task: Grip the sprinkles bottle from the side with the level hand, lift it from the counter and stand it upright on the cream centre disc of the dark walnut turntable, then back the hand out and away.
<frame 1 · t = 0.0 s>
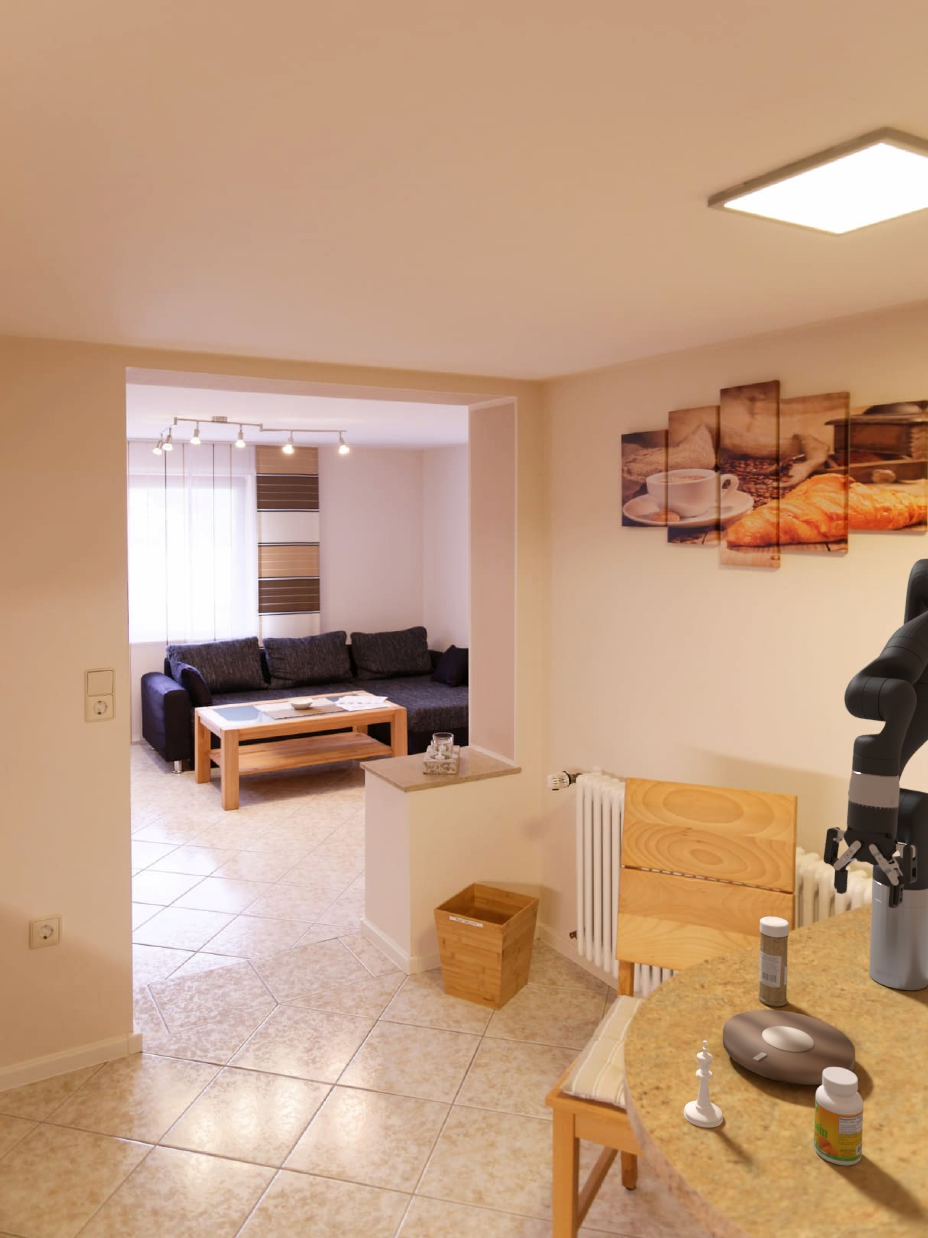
hand: (866, 900, 151), 17 cm above the table, tool pointing down, fingers open, 8 cm apart
chess piece: (703, 1118, 120), on the table
turntable platter: (787, 1044, 134), point 2 cm above the table, hinge at 0.0°
sprinkles bottle: (772, 1002, 152), on the table
turntable base: (787, 1060, 134), on the table
supplement bottle: (837, 1154, 113), on the table
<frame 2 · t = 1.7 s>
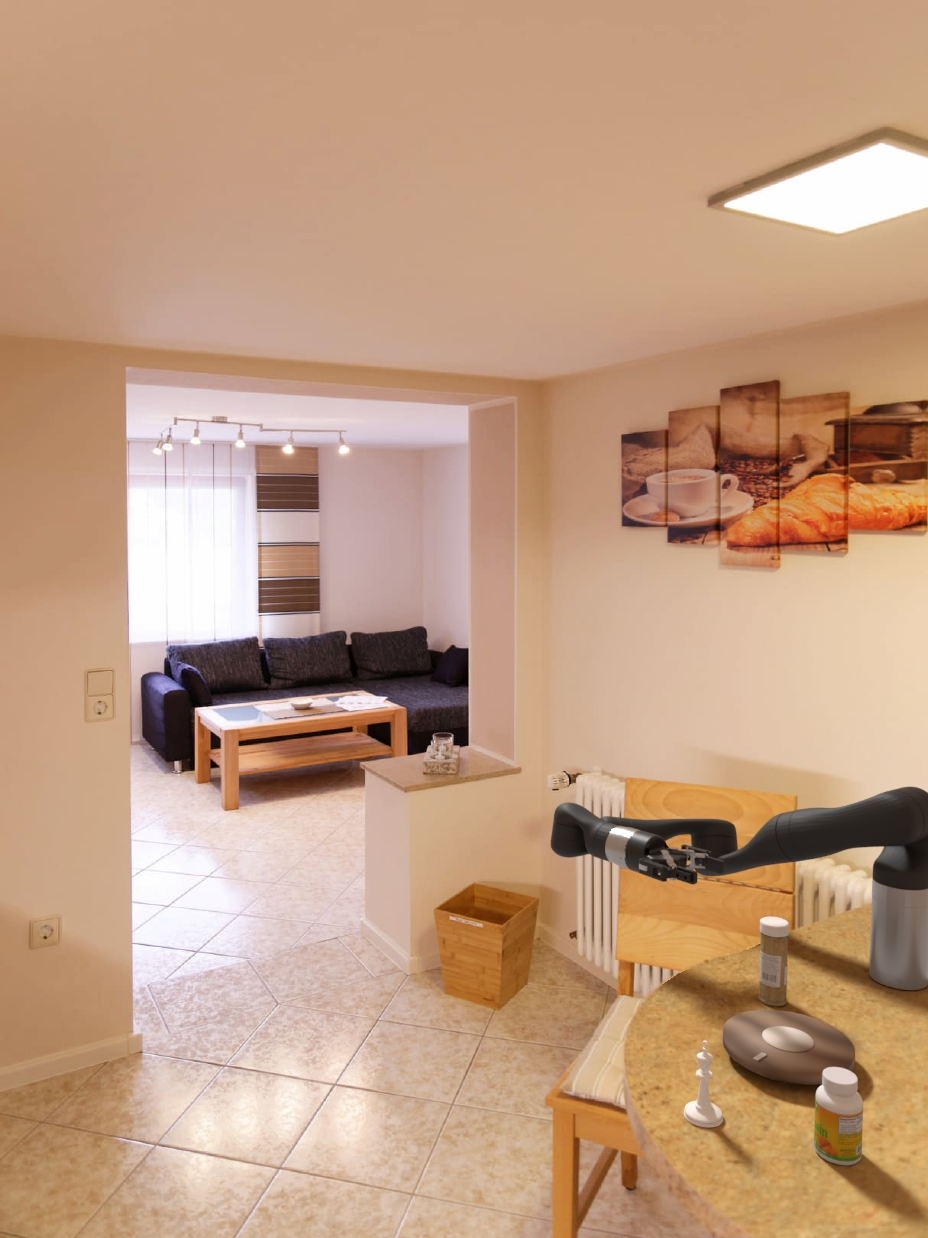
hand: (710, 873, 160), 18 cm above the table, tool horizontal, fingers open, 8 cm apart
nothing on the table moved.
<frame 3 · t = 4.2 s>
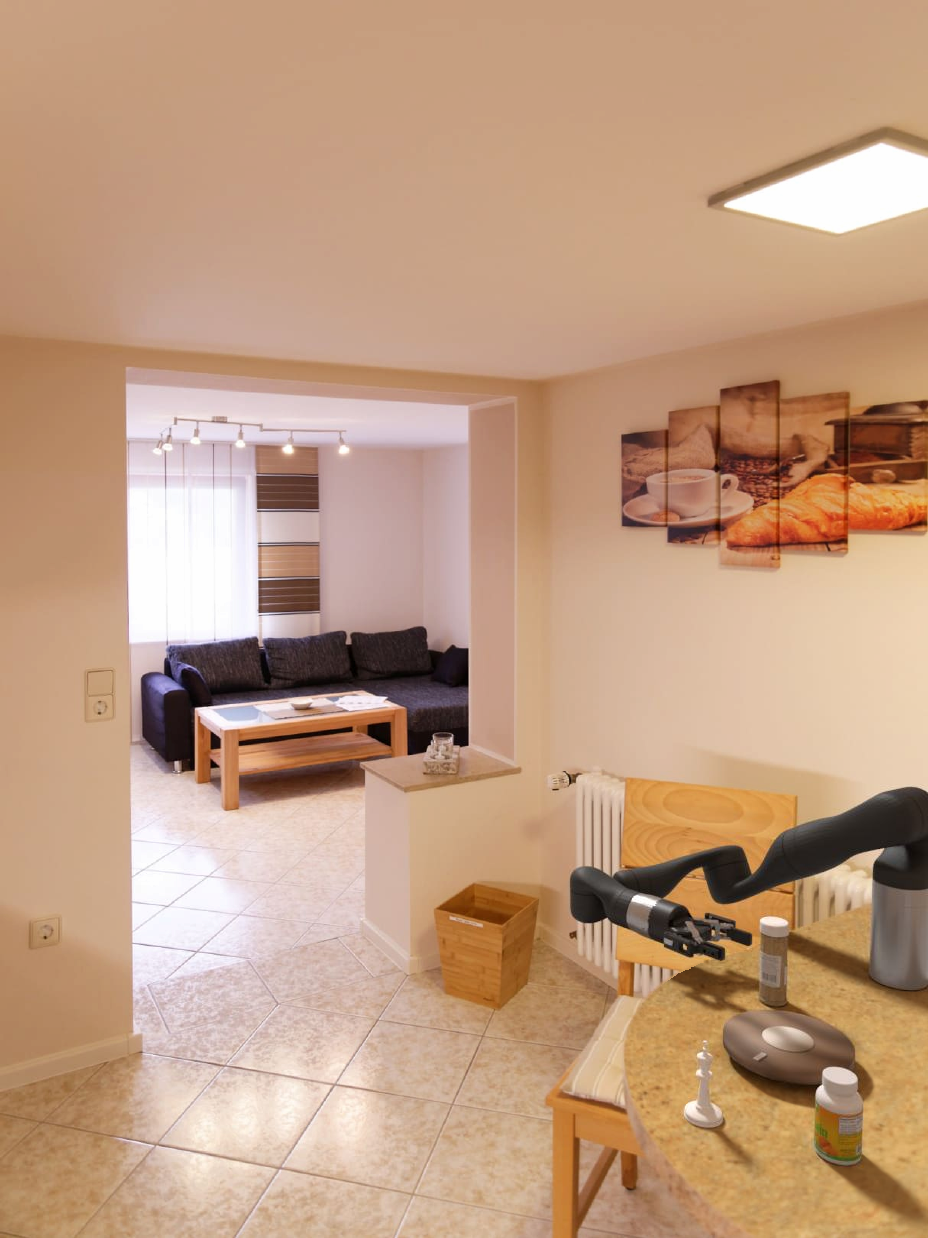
hand: (737, 947, 157), 7 cm above the table, tool horizontal, fingers open, 8 cm apart
nothing on the table moved.
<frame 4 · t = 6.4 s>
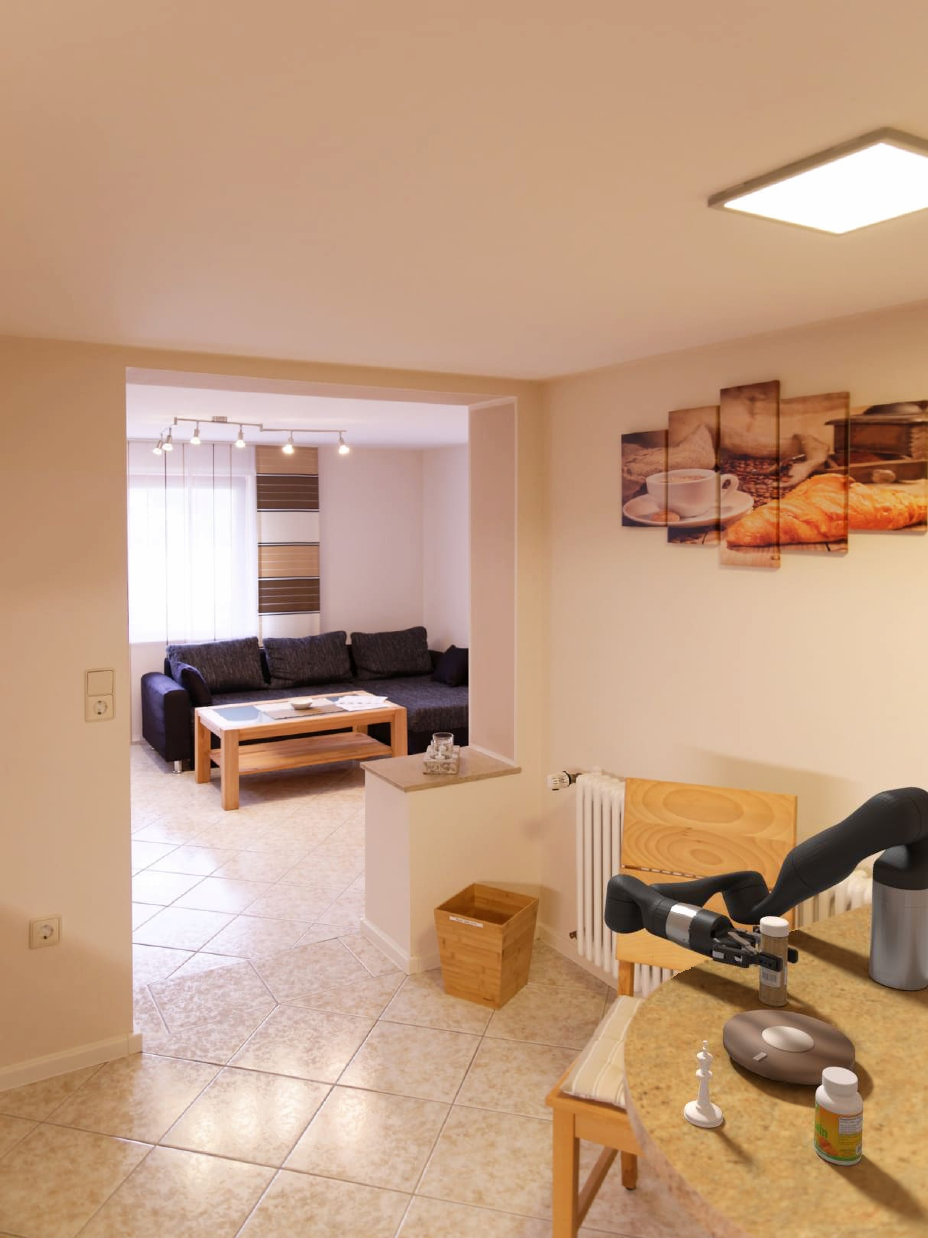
hand: (788, 961, 150), 8 cm above the table, tool horizontal, fingers closed on sprinkles bottle, 4 cm apart
sprinkles bottle: (772, 1002, 152), on the table, touching gripper
everything else where it was.
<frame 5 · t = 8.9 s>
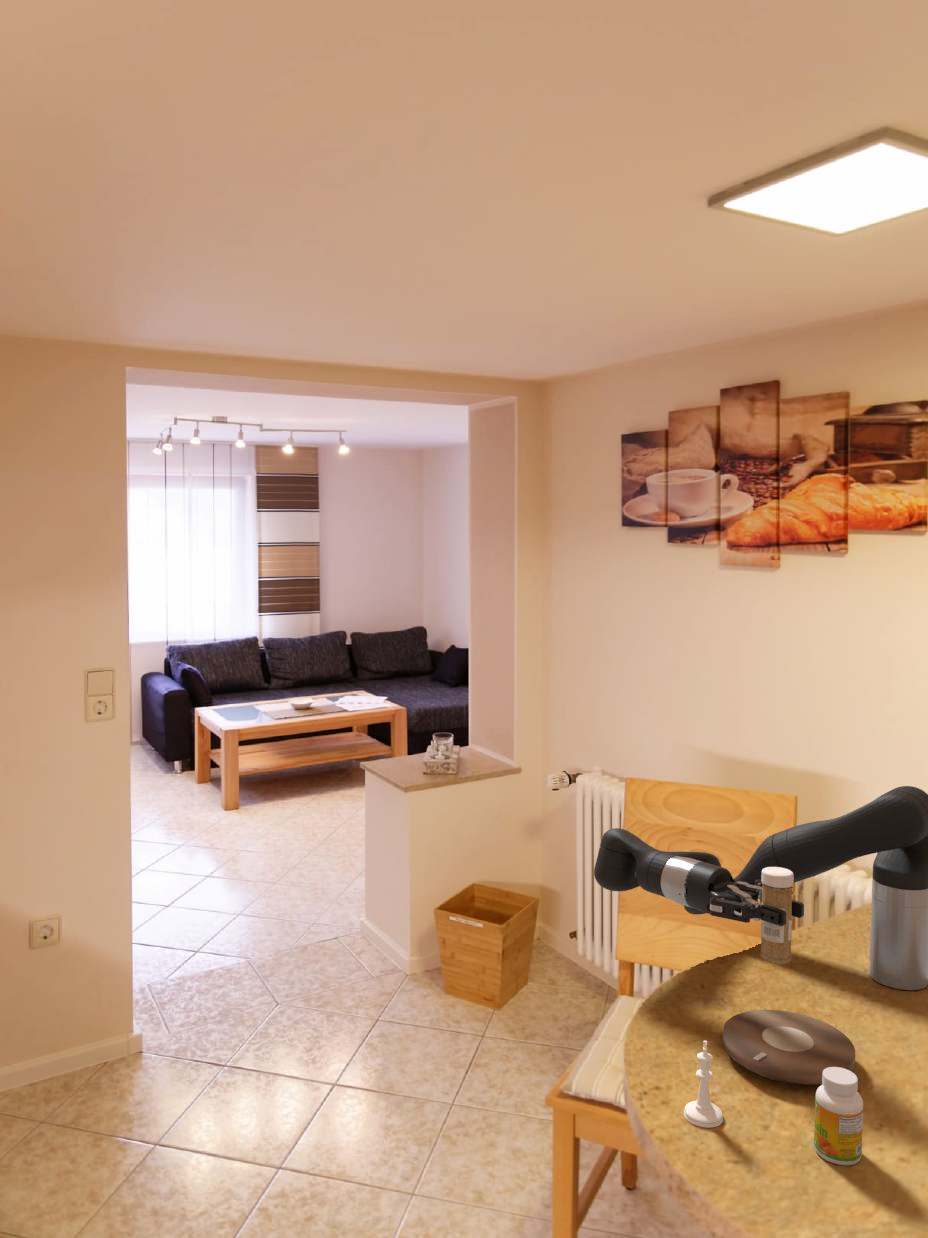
hand: (793, 915, 137), 20 cm above the table, tool horizontal, fingers closed on sprinkles bottle, 4 cm apart
sprinkles bottle: (775, 960, 139), point 12 cm above the table, touching gripper
everything else where it was.
when the fingers open (12 cm above the table, at t = 11.6 s): sprinkles bottle stays where it is, resting on turntable platter.
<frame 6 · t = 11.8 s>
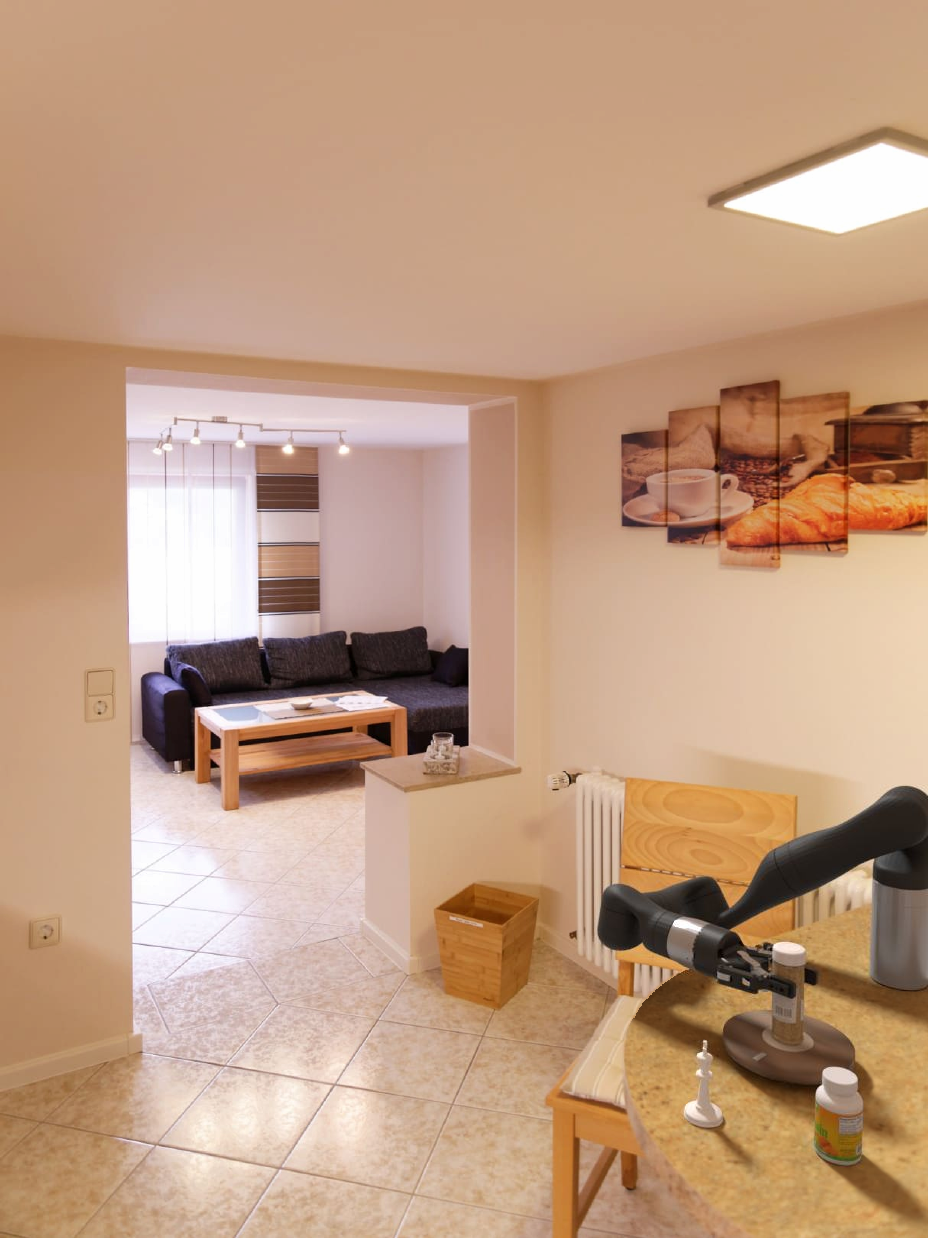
hand: (805, 985, 131), 12 cm above the table, tool horizontal, fingers open, 5 cm apart
turntable platter: (787, 1044, 134), point 2 cm above the table, hinge at 0.0°, touching sprinkles bottle
sprinkles bottle: (786, 1039, 134), point 3 cm above the table, touching turntable platter
everything else where it was.
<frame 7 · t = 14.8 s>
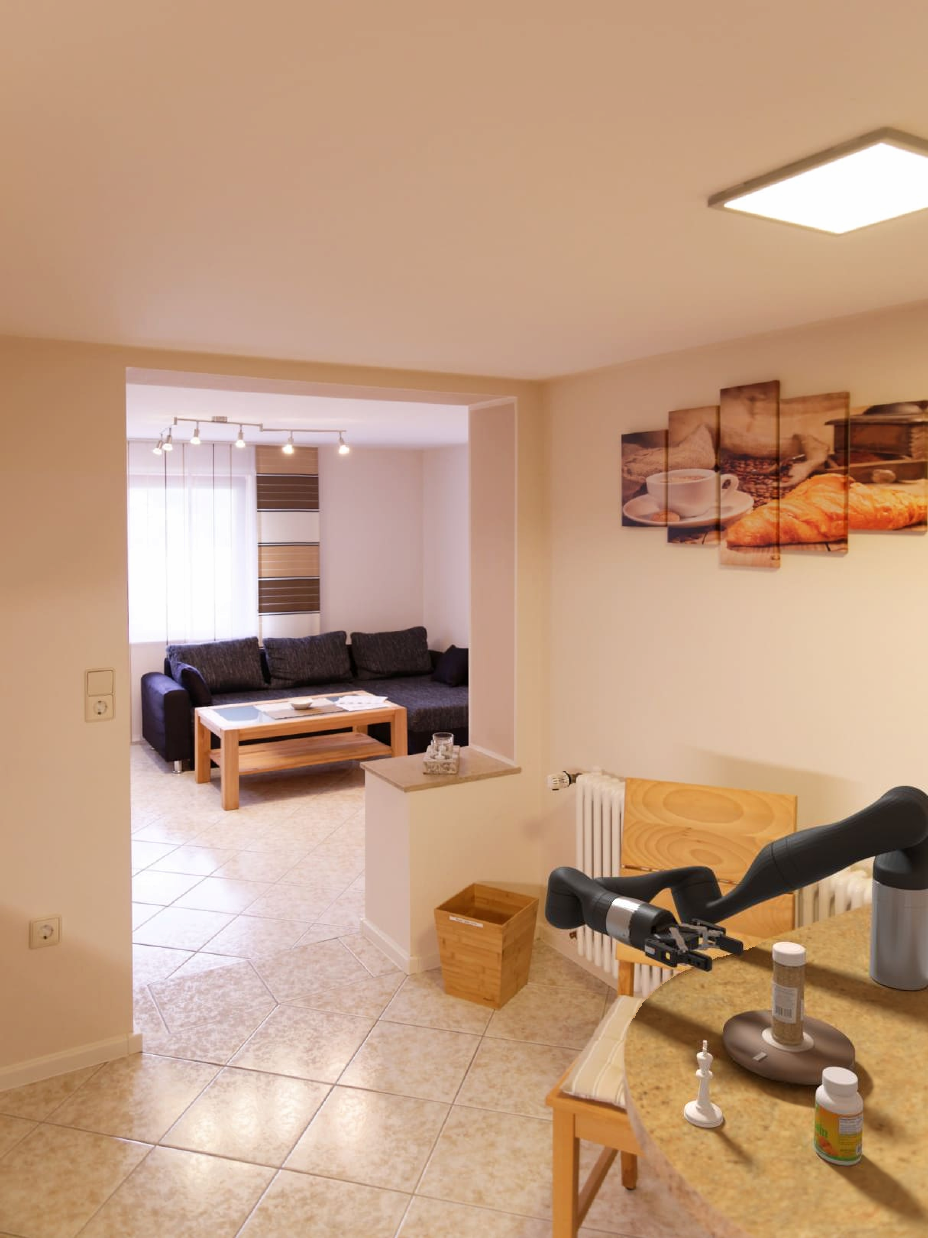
hand: (726, 957, 141), 12 cm above the table, tool horizontal, fingers open, 8 cm apart
nothing on the table moved.
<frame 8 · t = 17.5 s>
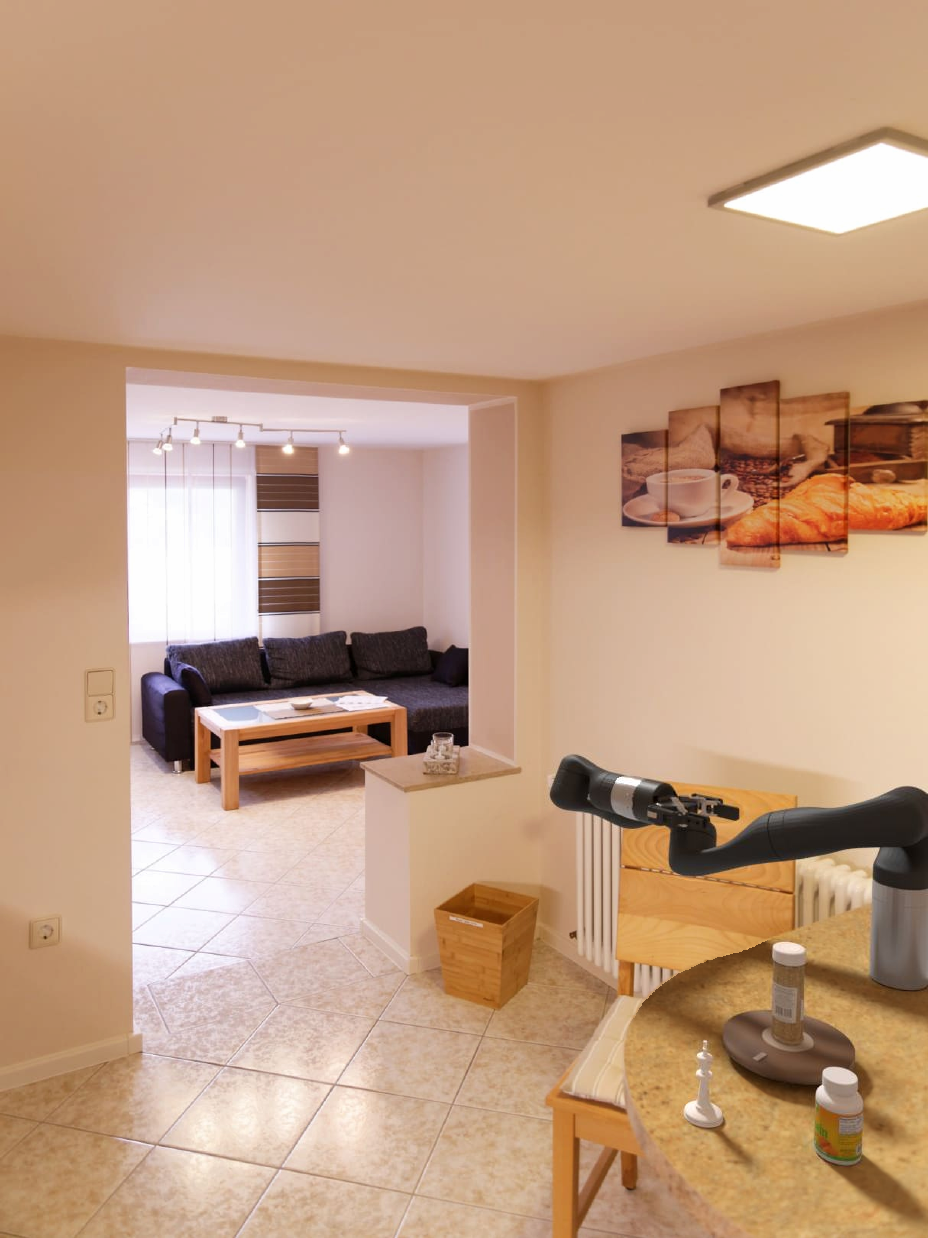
hand: (723, 819, 151), 30 cm above the table, tool horizontal, fingers open, 8 cm apart
nothing on the table moved.
at the end: sprinkles bottle 0.1 cm from the turntable platter (horizontally); sprinkles bottle tilted 0°; sprinkles bottle point 3.0 cm above the table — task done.
